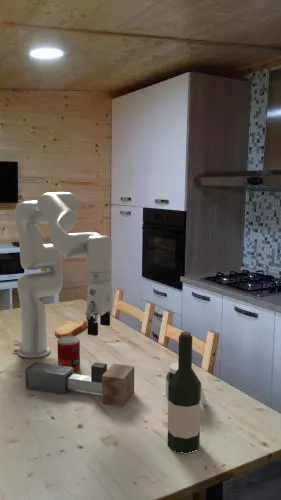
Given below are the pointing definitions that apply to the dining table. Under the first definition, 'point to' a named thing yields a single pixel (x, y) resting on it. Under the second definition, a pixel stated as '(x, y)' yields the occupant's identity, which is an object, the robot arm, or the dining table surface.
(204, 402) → the white mug
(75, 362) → the canned food
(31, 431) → the dining table surface
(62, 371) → the sleeve
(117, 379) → the socket block
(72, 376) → the steel bar
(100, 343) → the dining table surface
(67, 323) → the slice of bread
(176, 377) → the wine bottle
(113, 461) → the dining table surface
